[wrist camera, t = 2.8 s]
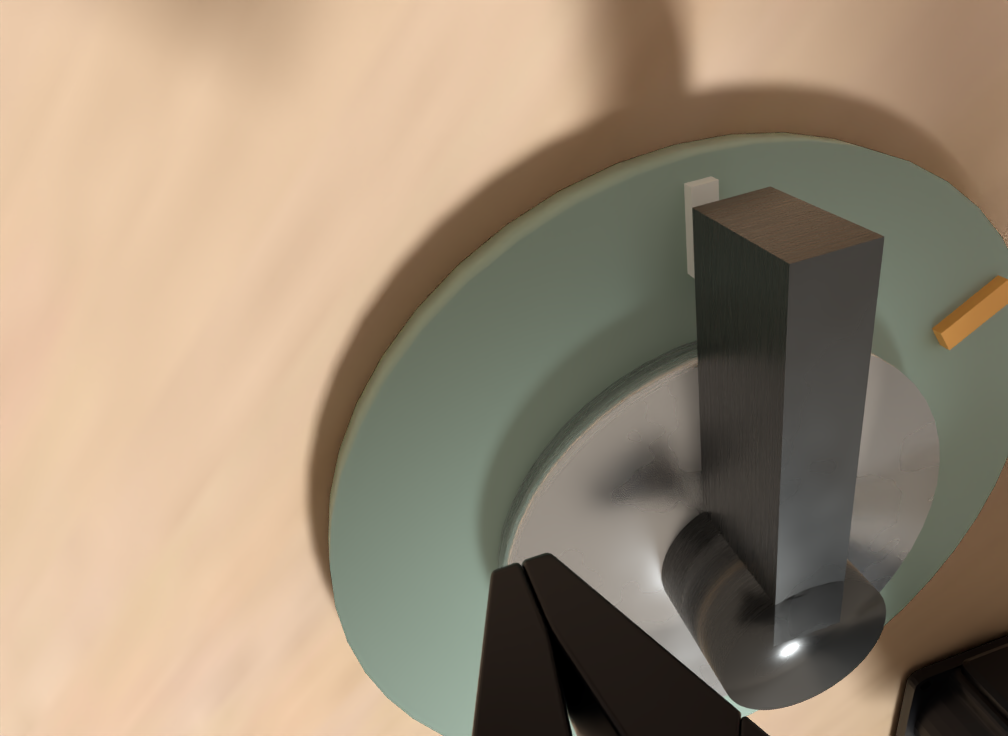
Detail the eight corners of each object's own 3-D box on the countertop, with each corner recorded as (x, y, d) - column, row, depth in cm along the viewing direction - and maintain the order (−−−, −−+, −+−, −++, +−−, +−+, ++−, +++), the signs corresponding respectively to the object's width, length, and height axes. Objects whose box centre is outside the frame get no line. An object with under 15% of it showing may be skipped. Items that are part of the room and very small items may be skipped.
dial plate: (942, 613, 26) (971, 641, 25) (430, 804, 24) (437, 845, 23) (1075, 41, 16) (1133, 45, 15) (192, 268, 13) (183, 295, 12)
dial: (885, 603, 23) (989, 713, 19) (535, 732, 21) (582, 875, 18) (967, 113, 15) (1168, 154, 11) (411, 262, 13) (452, 360, 10)
